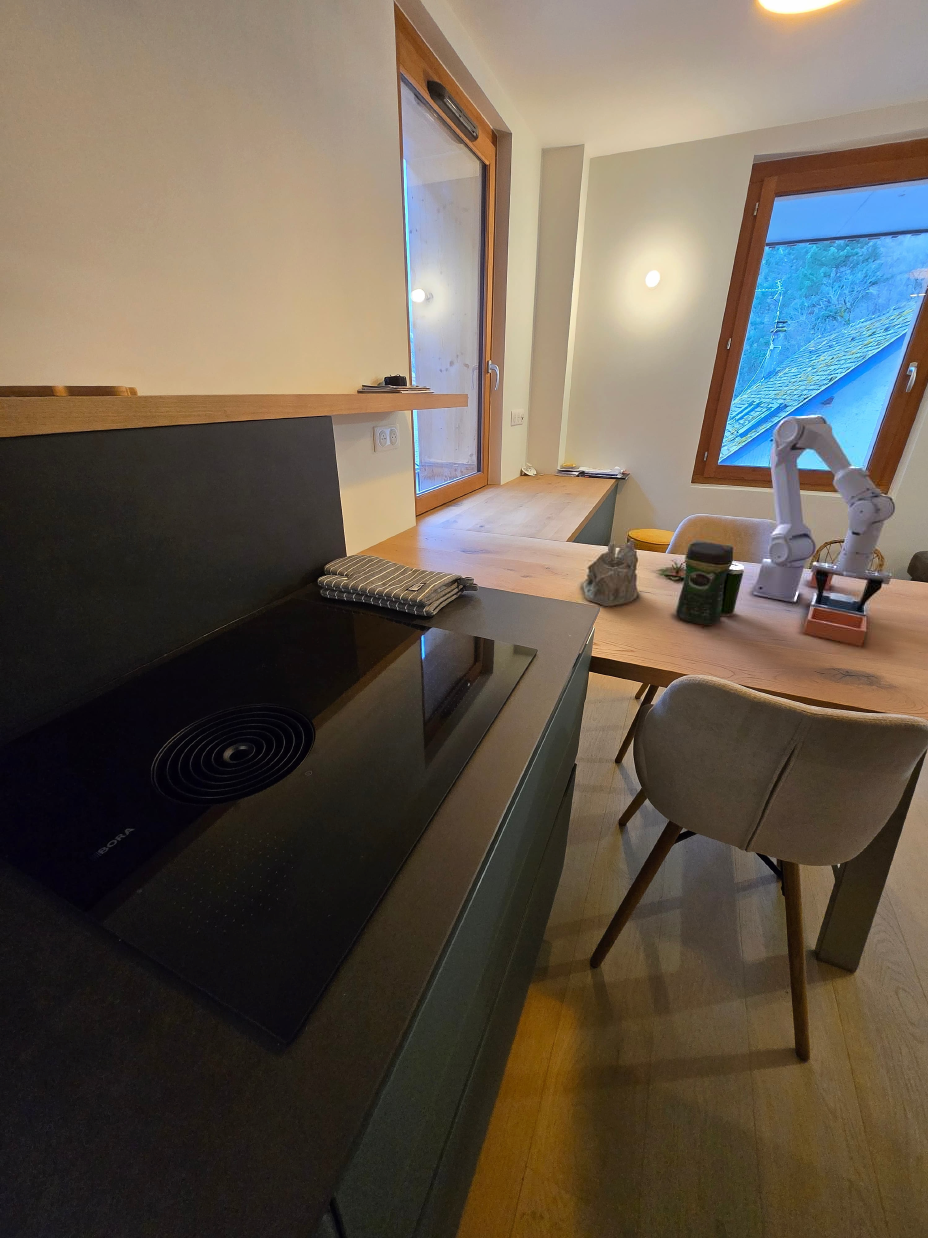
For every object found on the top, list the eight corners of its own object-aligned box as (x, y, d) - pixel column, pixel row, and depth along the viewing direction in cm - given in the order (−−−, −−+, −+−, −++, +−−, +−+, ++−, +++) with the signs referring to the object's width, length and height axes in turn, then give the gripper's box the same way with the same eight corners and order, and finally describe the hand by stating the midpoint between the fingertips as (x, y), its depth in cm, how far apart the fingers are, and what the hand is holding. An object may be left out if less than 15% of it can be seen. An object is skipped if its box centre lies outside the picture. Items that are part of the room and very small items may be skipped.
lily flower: (671, 584, 137) (673, 569, 135) (646, 570, 148) (649, 556, 146) (708, 580, 140) (711, 565, 138) (682, 566, 150) (684, 552, 148)
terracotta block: (808, 586, 135) (813, 570, 133) (810, 581, 138) (814, 566, 136) (828, 589, 132) (833, 574, 130) (829, 584, 135) (834, 569, 133)
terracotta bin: (803, 633, 110) (807, 619, 108) (806, 619, 116) (811, 606, 115) (860, 646, 104) (866, 631, 103) (861, 631, 111) (866, 617, 109)
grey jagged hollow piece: (602, 577, 143) (607, 527, 136) (649, 596, 131) (657, 543, 123) (563, 592, 136) (565, 540, 128) (608, 614, 124) (614, 559, 116)
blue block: (823, 615, 117) (829, 598, 115) (825, 609, 120) (830, 592, 118) (847, 620, 114) (853, 602, 112) (847, 613, 118) (853, 596, 116)
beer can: (725, 618, 117) (736, 571, 112) (704, 611, 121) (714, 564, 116) (737, 613, 120) (749, 566, 115) (717, 605, 124) (727, 560, 119)
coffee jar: (723, 618, 118) (740, 543, 110) (712, 629, 112) (730, 551, 104) (682, 607, 123) (695, 535, 115) (670, 618, 118) (683, 543, 110)
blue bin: (807, 617, 117) (811, 604, 116) (810, 605, 123) (814, 592, 122) (861, 628, 112) (866, 614, 110) (862, 615, 118) (867, 602, 116)
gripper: (817, 549, 111) (800, 604, 117) (899, 561, 104) (877, 619, 109) (819, 542, 116) (803, 594, 122) (898, 552, 109) (876, 608, 114)
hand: (838, 605), depth 116 cm, fingers open, 7 cm apart
